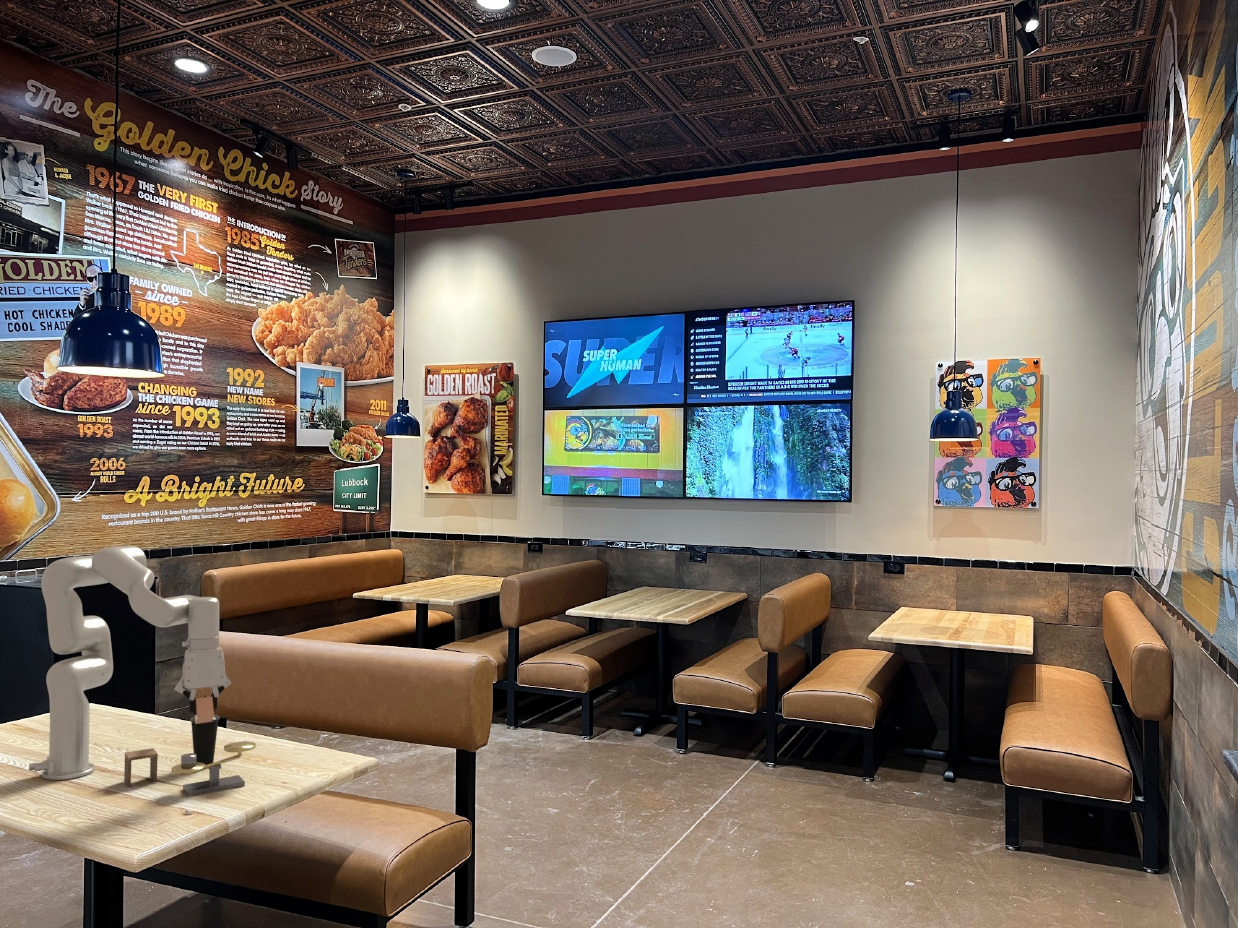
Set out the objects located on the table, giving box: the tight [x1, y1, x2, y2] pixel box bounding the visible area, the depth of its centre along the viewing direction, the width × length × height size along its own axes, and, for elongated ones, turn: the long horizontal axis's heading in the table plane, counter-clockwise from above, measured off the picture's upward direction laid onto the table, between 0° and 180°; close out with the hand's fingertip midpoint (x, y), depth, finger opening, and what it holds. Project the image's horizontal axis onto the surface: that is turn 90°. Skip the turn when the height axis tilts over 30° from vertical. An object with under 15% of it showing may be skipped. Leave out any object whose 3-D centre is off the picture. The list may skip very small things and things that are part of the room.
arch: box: [123, 748, 158, 788], centre depth 246 cm, size 7×6×8 cm
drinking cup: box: [190, 695, 220, 765], centre depth 260 cm, size 8×8×20 cm
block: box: [194, 696, 215, 724], centre depth 241 cm, size 4×4×6 cm
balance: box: [171, 740, 257, 797], centre depth 242 cm, size 21×8×10 cm, turn 127°
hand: (203, 712), depth 242 cm, fingers closed on block, 3 cm apart
